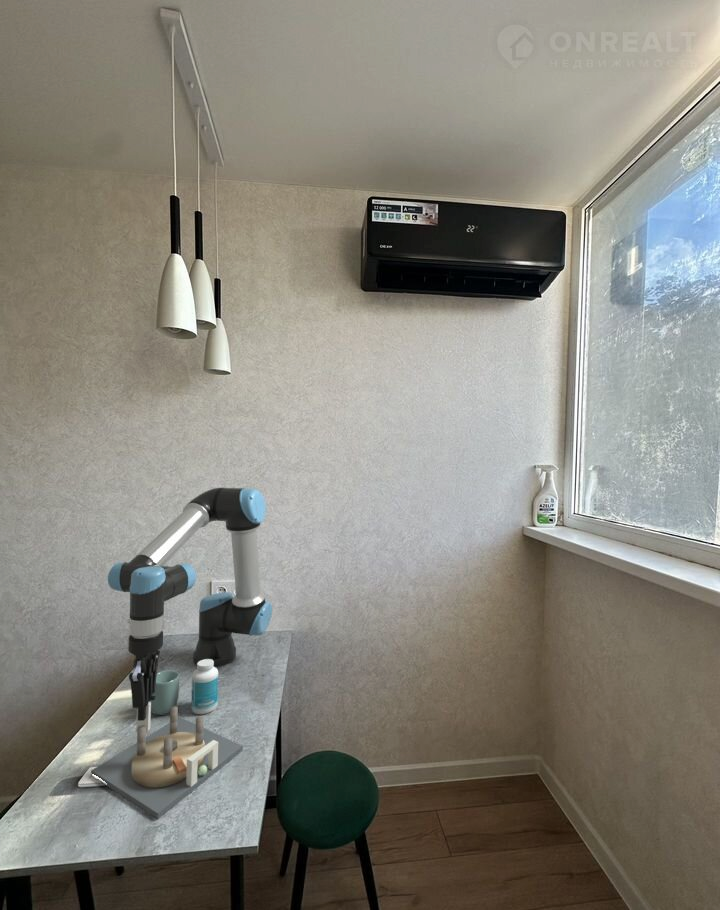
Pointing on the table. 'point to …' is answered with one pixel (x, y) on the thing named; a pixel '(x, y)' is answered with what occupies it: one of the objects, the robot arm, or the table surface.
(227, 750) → the stand
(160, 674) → the cup
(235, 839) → the table surface
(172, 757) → the disc
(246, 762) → the table surface
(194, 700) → the pill bottle
